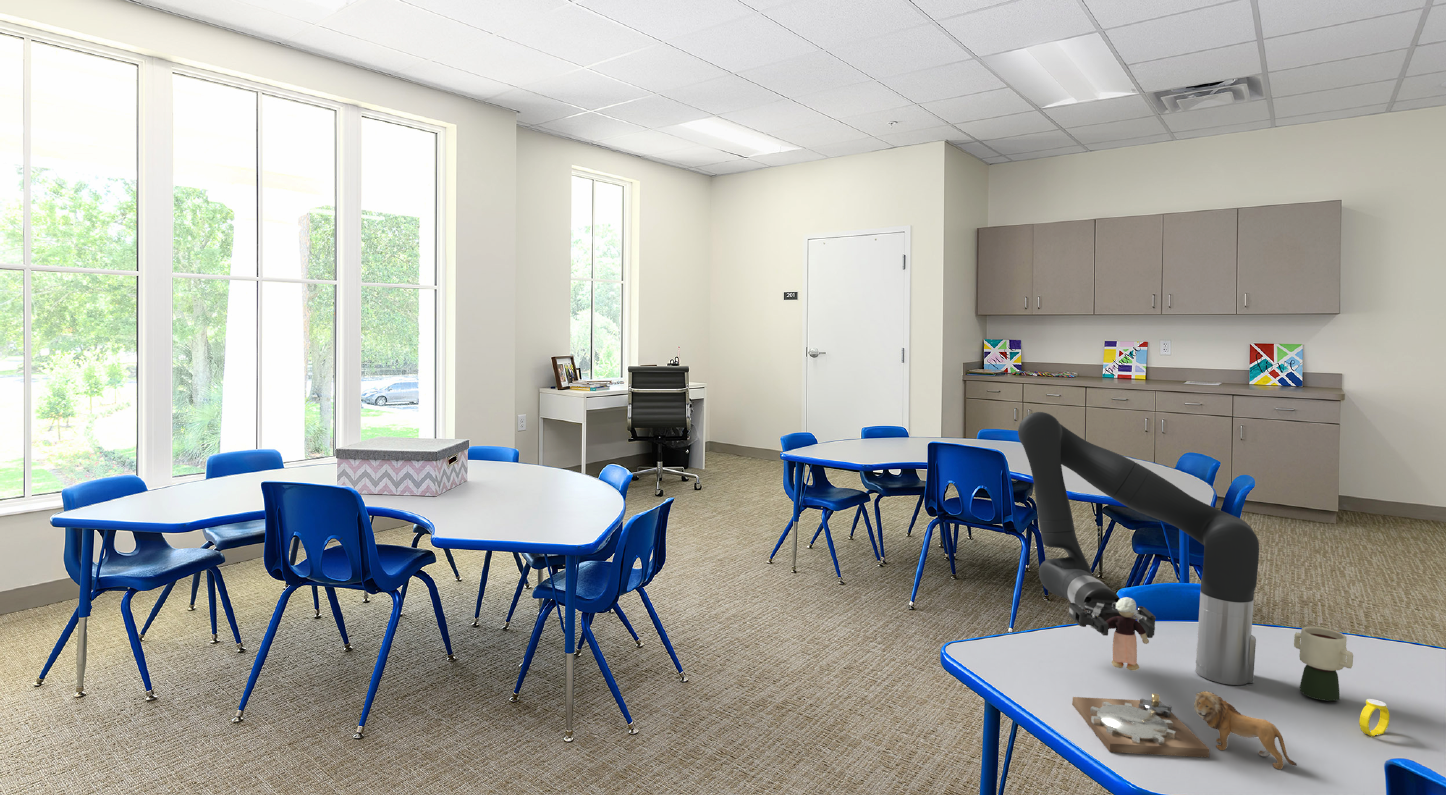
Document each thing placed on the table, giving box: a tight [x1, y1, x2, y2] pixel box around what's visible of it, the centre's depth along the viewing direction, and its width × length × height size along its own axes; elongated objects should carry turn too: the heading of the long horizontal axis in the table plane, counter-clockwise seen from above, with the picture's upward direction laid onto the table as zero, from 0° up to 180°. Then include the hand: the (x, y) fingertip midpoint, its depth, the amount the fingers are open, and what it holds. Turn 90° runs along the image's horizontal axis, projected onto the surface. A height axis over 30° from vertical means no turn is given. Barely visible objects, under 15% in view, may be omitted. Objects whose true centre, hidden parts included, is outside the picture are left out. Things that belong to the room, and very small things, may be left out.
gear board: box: [1071, 696, 1210, 758], centre depth 137 cm, size 16×17×2 cm
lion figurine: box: [1193, 690, 1298, 770], centre depth 129 cm, size 15×5×9 cm, turn 52°
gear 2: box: [1139, 692, 1173, 718], centre depth 141 cm, size 6×5×3 cm
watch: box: [1358, 698, 1391, 737], centre depth 136 cm, size 6×3×6 cm, turn 110°
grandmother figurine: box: [1105, 596, 1150, 672], centre depth 138 cm, size 8×4×13 cm, turn 70°
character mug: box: [1293, 626, 1354, 701], centre depth 150 cm, size 11×7×13 cm, turn 17°
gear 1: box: [1090, 702, 1176, 745], centre depth 135 cm, size 13×13×1 cm
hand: (1128, 631), depth 136 cm, fingers closed on grandmother figurine, 7 cm apart
